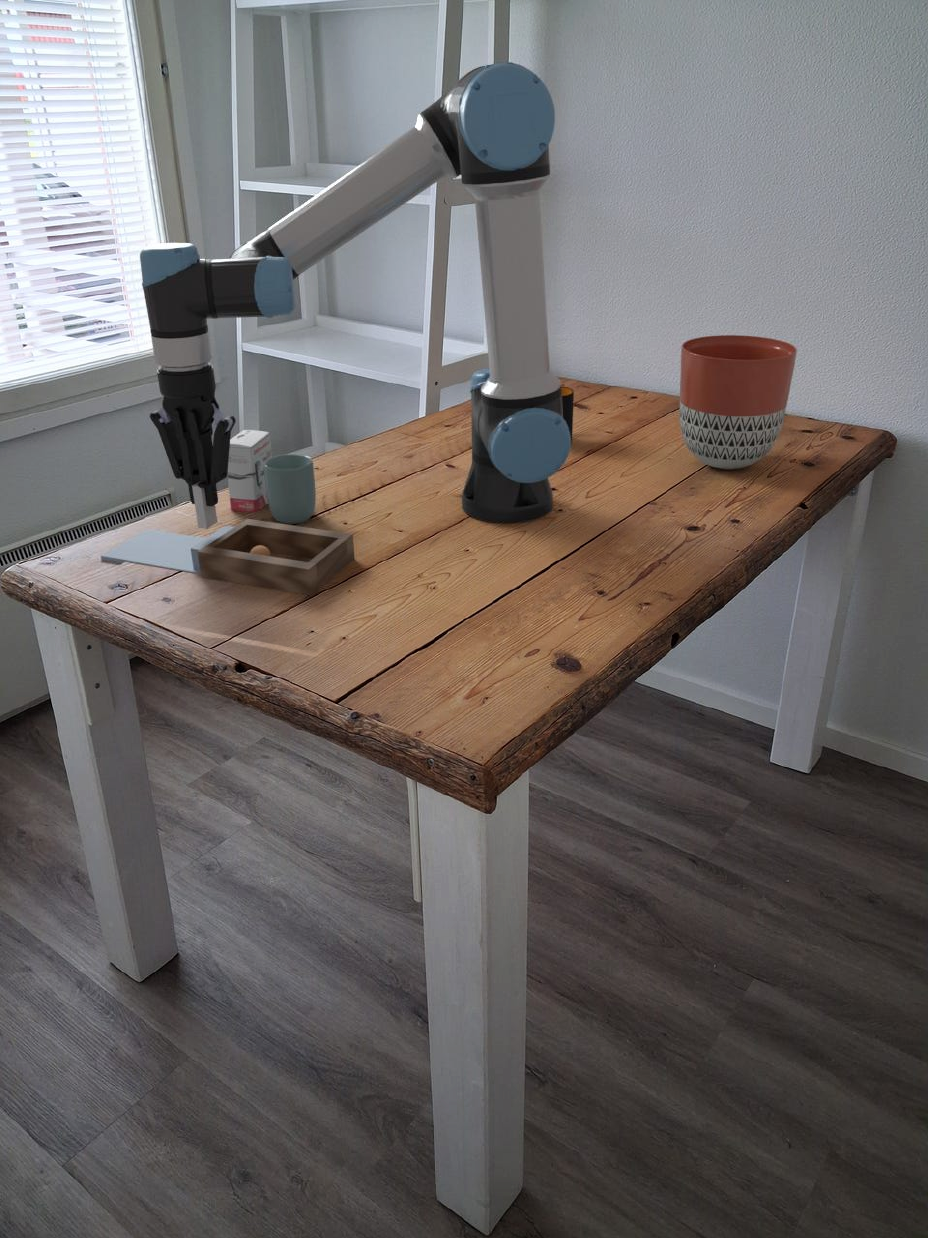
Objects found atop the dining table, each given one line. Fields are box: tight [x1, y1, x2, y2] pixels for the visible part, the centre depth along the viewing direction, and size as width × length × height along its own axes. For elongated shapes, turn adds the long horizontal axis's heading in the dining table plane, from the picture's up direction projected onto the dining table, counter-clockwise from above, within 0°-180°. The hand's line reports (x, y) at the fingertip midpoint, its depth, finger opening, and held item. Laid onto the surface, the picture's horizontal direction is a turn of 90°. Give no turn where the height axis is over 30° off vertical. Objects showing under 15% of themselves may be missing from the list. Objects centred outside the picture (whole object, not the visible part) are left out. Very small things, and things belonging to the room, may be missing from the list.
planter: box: [679, 334, 798, 470], centre depth 179 cm, size 20×20×21 cm
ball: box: [250, 545, 271, 556], centre depth 146 cm, size 3×3×3 cm
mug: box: [561, 385, 575, 445], centre depth 196 cm, size 8×12×10 cm
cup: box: [263, 453, 317, 525], centre depth 161 cm, size 8×8×10 cm
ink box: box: [227, 429, 273, 513], centre depth 168 cm, size 9×5×12 cm, turn 168°
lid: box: [100, 525, 235, 575], centre depth 152 cm, size 18×11×4 cm, turn 68°
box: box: [198, 518, 355, 597], centre depth 145 cm, size 18×13×4 cm
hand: (208, 524), depth 148 cm, fingers closed
